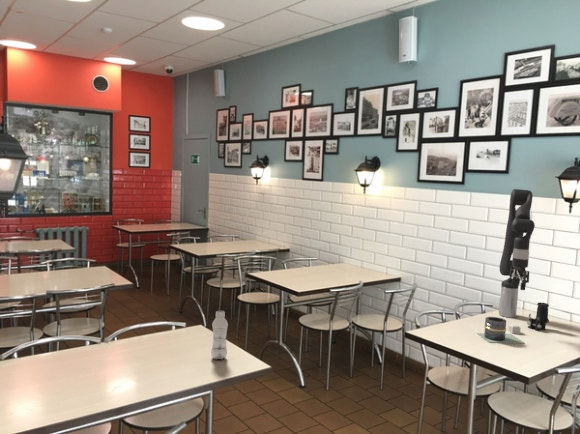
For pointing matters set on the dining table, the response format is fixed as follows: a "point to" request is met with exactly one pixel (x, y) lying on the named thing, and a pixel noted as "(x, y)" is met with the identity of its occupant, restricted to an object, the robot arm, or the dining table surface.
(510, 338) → the mat
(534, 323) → the scope
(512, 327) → the white stepped cube
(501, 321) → the grey faceted ring
